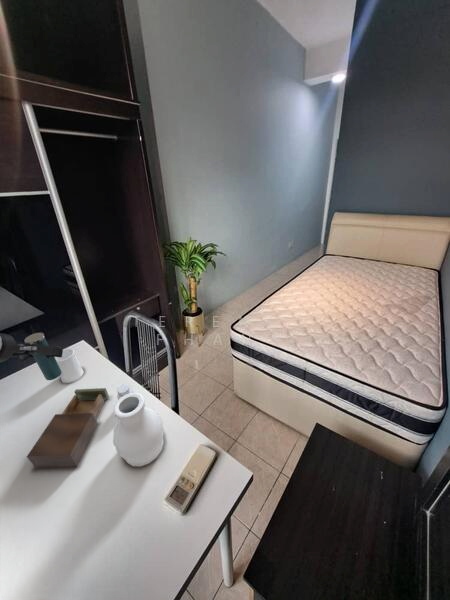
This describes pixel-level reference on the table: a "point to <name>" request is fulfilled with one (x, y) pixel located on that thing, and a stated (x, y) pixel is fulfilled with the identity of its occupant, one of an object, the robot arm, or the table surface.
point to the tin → (44, 358)
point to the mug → (69, 366)
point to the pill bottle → (123, 390)
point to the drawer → (87, 406)
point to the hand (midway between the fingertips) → (53, 353)
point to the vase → (137, 430)
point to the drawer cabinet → (63, 441)
